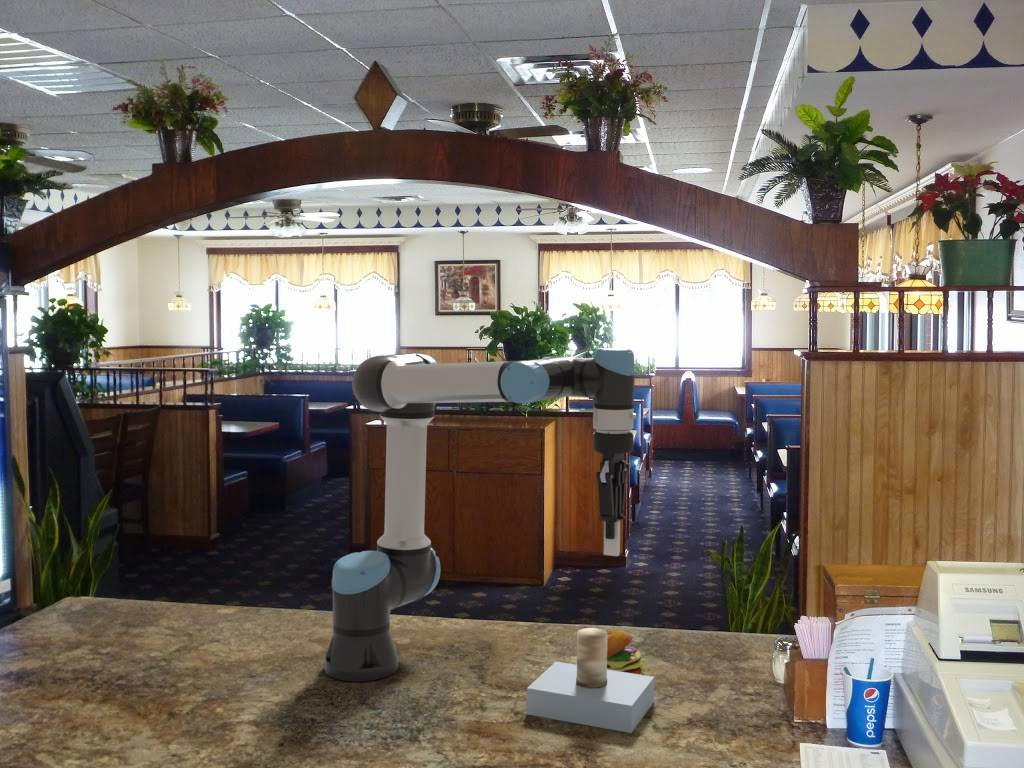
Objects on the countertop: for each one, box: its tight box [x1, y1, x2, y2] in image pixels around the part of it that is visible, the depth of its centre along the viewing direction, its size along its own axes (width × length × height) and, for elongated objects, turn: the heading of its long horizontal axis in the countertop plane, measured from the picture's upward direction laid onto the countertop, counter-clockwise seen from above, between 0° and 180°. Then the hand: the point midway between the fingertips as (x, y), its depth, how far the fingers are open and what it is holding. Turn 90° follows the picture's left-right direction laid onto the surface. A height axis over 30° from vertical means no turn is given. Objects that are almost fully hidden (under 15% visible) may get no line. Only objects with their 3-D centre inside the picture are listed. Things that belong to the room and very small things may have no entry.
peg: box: [576, 627, 608, 689], centre depth 188 cm, size 6×6×14 cm
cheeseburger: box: [606, 629, 646, 675], centre depth 207 cm, size 10×11×10 cm
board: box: [526, 661, 655, 734], centre depth 189 cm, size 20×15×5 cm
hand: (611, 554), depth 191 cm, fingers closed
